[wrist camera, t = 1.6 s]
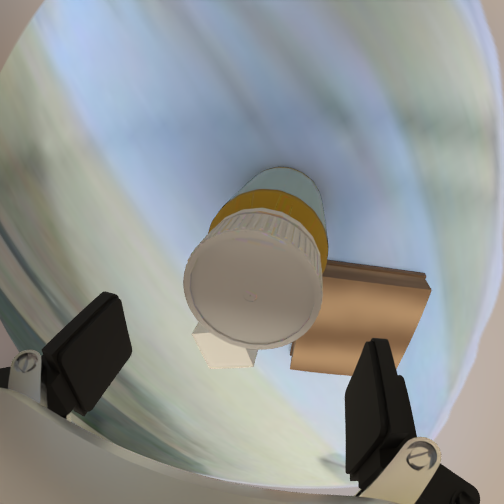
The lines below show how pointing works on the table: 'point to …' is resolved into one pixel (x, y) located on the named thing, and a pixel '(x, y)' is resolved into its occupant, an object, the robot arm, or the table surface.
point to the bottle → (261, 263)
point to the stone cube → (222, 351)
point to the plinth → (360, 316)
